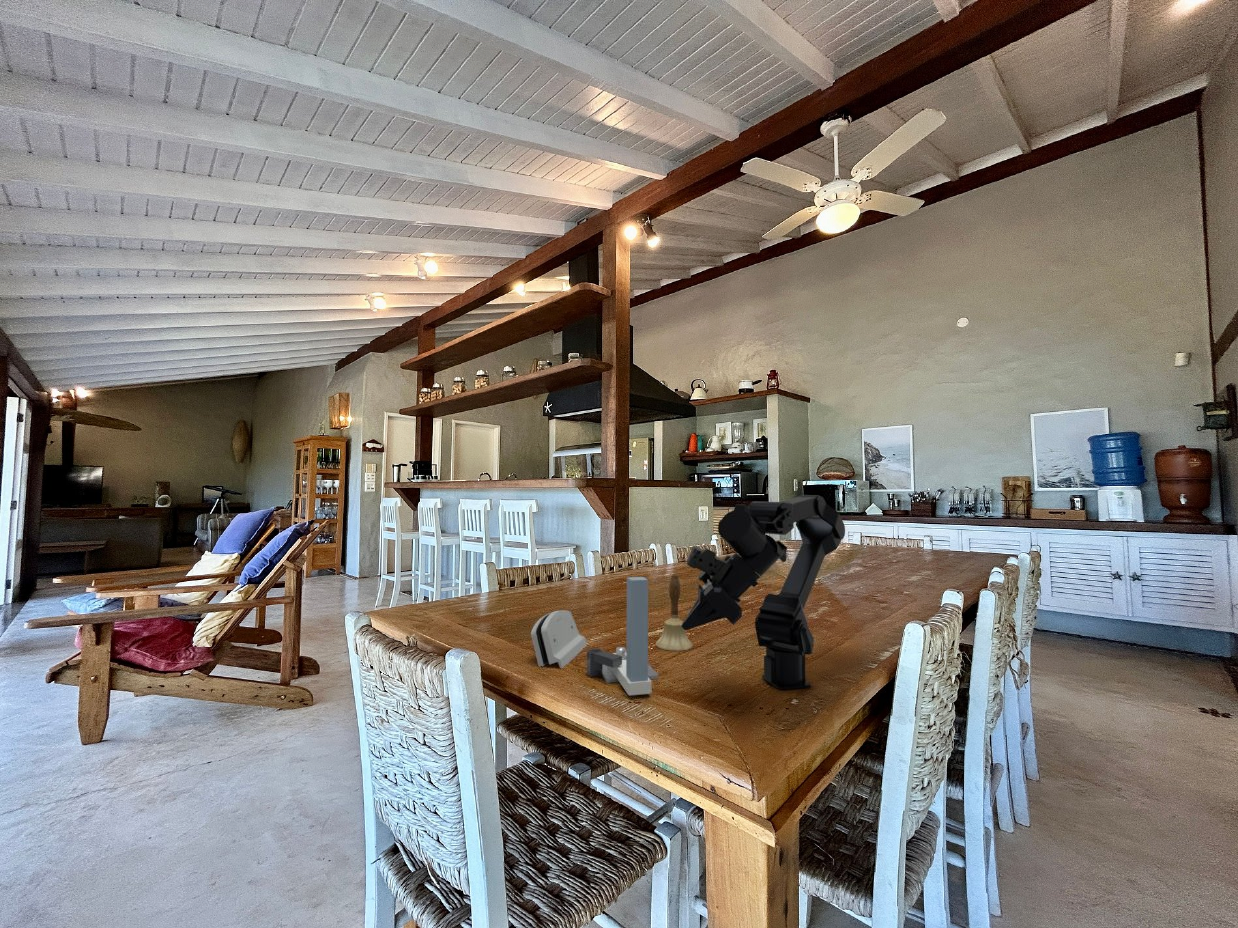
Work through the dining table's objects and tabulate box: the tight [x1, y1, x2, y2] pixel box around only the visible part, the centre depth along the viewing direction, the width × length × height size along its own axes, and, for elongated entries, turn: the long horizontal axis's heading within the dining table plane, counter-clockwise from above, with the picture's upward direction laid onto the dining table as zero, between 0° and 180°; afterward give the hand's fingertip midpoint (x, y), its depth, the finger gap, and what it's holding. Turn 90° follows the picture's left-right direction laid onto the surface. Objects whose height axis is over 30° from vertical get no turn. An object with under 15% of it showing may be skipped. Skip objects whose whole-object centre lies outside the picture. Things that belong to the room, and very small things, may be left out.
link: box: [610, 576, 653, 696], centre depth 95 cm, size 16×4×19 cm, turn 14°
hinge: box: [530, 609, 588, 669], centre depth 109 cm, size 17×5×10 cm, turn 166°
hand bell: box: [655, 573, 693, 652], centre depth 116 cm, size 8×8×16 cm
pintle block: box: [586, 646, 659, 684], centre depth 98 cm, size 13×11×4 cm
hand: (683, 627), depth 88 cm, fingers closed
